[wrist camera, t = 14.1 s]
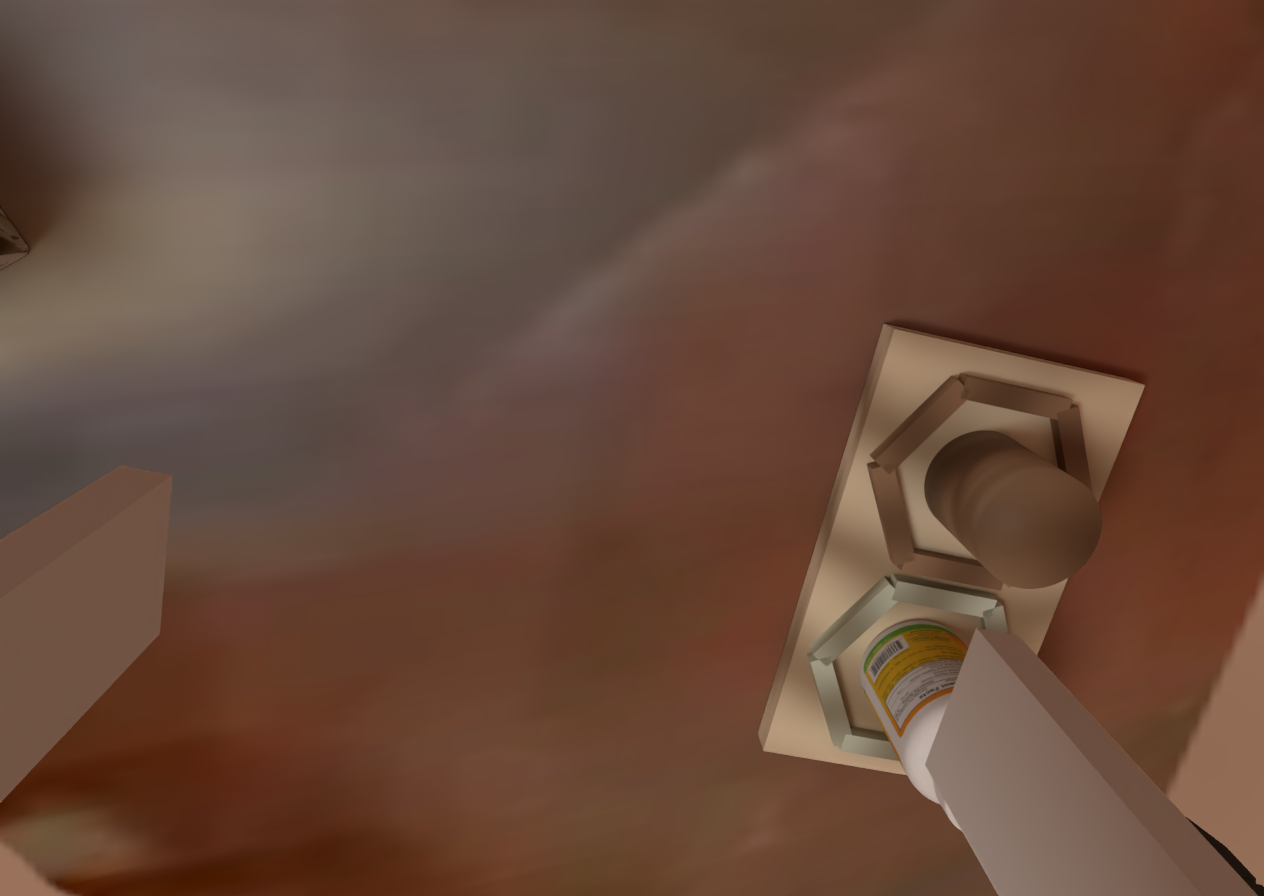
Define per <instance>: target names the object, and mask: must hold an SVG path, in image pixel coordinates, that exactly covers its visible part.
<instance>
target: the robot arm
mask: <svg viewBox="0 0 1264 896" xmlns="http://www.w3.org/2000/svg"><path fill="white" fill-rule="evenodd" d="M171 487H172V475H168V474H162V473H157V472H152V471H147V470H141V469H136V468H131V467H126V466H119V467H117V468H116V469H114V470H113V471H111V472H109V473H108V474H106V475H104V476H103V477H101V478H100V479H98V480H96V481H95V482H93V483H91V484H90V485H88V486H87V487H85V488H83V489H82V490H80V491H78V492H77V493H75V494H74V495H72V496H70V497H69V498H67V499H65V500H64V501H62V502H61V503H59V504H57V505H56V506H54V507H53V508H51V509H49V510H48V511H46V512H44V513H43V514H41V515H40V516H38V517H36V518H35V519H33V520H31V521H30V522H28V523H27V524H25V525H23V526H22V527H20V528H18V529H17V530H15V531H14V532H12V533H10V534H9V535H7V536H5V537H4V538H2V539H1V540H0V802H1V801H2V800H3V799H4V798H5V797H6V796H7V795H8V794H9V793H10V792H11V791H12V790H13V789H14V788H15V787H16V785H17V784H18V783H19V782H20V781H21V780H22V779H23V778H24V777H25V776H26V775H27V774H28V773H29V772H30V771H31V770H32V769H33V767H34V766H35V765H36V764H37V763H38V762H39V761H40V760H41V759H42V758H43V757H44V756H45V755H46V754H47V753H48V752H49V751H50V749H51V748H52V747H53V746H54V745H55V744H56V743H57V742H58V741H59V740H60V739H61V738H62V737H63V736H64V735H65V734H66V732H67V731H68V730H69V729H70V728H71V727H72V726H73V725H74V724H75V723H76V722H77V721H78V720H79V719H80V718H81V717H82V716H83V714H84V713H85V712H86V711H87V710H88V709H89V708H90V707H91V706H92V705H93V704H94V703H95V702H96V701H97V700H98V699H99V697H100V696H101V695H102V694H103V693H104V692H105V691H106V690H107V689H108V688H109V687H110V686H111V685H112V684H113V683H114V682H115V681H116V679H117V678H118V677H119V676H120V675H121V674H122V673H123V672H124V671H125V670H126V669H127V668H128V667H129V666H130V665H131V664H132V663H133V661H134V660H135V659H136V658H137V657H138V656H139V655H140V654H141V653H142V652H143V651H144V650H145V649H146V648H147V647H148V646H149V644H150V643H151V642H152V641H153V640H154V639H155V638H156V637H157V636H158V635H159V634H160V624H161V611H162V599H163V587H164V574H165V562H166V549H167V537H168V525H169V512H170V500H171ZM925 766H926V768H927V769H928V771H929V773H930V775H931V776H932V778H933V780H934V782H935V784H936V785H937V787H938V789H939V791H940V792H941V794H942V796H943V798H944V800H945V801H946V803H947V805H948V807H949V808H950V810H951V812H952V814H953V816H954V817H955V819H956V821H957V823H958V825H959V826H960V828H961V830H962V832H963V833H964V835H965V837H966V839H967V841H968V842H969V844H970V846H971V848H972V849H973V851H974V853H975V855H976V857H977V858H978V860H979V862H980V864H981V865H982V867H983V869H984V871H985V873H986V874H987V876H988V878H989V880H990V881H991V883H992V885H993V887H994V889H995V890H996V892H997V894H998V896H1264V887H1263V886H1262V885H1258V884H1256V878H1255V877H1254V876H1253V875H1252V874H1251V873H1250V872H1249V871H1248V870H1247V869H1246V868H1245V867H1244V866H1243V864H1242V863H1241V862H1240V861H1239V860H1238V859H1237V858H1236V857H1235V856H1234V855H1233V854H1232V853H1231V852H1230V851H1229V850H1228V848H1226V847H1225V846H1224V845H1223V844H1221V843H1220V842H1219V841H1217V840H1216V839H1215V838H1214V837H1212V836H1211V835H1209V834H1208V833H1207V832H1205V831H1204V830H1203V829H1201V828H1200V827H1199V826H1198V825H1196V824H1195V823H1194V822H1192V821H1191V820H1190V819H1188V818H1187V817H1185V816H1184V815H1183V814H1182V813H1181V812H1180V811H1179V809H1178V808H1177V807H1176V806H1175V805H1174V804H1173V803H1172V802H1171V801H1170V800H1169V799H1168V797H1167V796H1166V795H1165V794H1164V793H1163V792H1162V791H1161V790H1160V789H1159V788H1158V787H1157V785H1156V784H1155V783H1154V782H1153V781H1152V780H1151V779H1150V778H1149V777H1148V776H1147V775H1146V774H1145V772H1144V771H1143V770H1142V769H1141V768H1140V767H1139V766H1138V765H1137V764H1136V763H1135V762H1134V761H1133V759H1132V758H1131V757H1130V756H1129V755H1128V754H1127V753H1126V752H1125V751H1124V750H1123V749H1122V747H1121V746H1120V745H1119V744H1118V743H1117V742H1116V741H1115V740H1114V739H1113V738H1112V737H1111V736H1110V734H1109V733H1108V732H1107V731H1106V730H1105V729H1104V728H1103V727H1102V726H1101V725H1100V724H1099V723H1098V721H1097V720H1096V719H1095V718H1094V717H1093V716H1092V715H1091V714H1090V713H1089V712H1088V711H1087V709H1086V708H1085V707H1084V706H1083V705H1082V704H1081V703H1080V702H1079V701H1078V700H1077V699H1076V698H1075V696H1074V695H1073V694H1072V693H1071V692H1070V691H1069V690H1068V689H1067V688H1066V687H1065V686H1064V685H1063V683H1062V682H1061V681H1060V680H1059V679H1058V678H1057V677H1056V676H1055V675H1054V674H1053V673H1052V672H1051V670H1050V669H1049V668H1048V667H1047V666H1046V665H1045V664H1044V663H1043V662H1042V661H1041V660H1040V658H1039V657H1038V656H1037V655H1036V654H1035V653H1034V652H1033V651H1032V650H1031V649H1030V648H1029V647H1028V645H1027V644H1026V643H1025V642H1024V641H1023V640H1022V639H1021V638H1020V637H1019V636H1018V635H1012V634H1007V633H1002V632H997V631H991V630H986V629H981V628H976V629H975V632H974V635H973V637H972V640H971V643H970V645H969V648H968V651H967V653H966V656H965V659H964V661H963V664H962V667H961V669H960V672H959V675H958V677H957V680H956V683H955V685H954V688H953V691H952V693H951V696H950V699H949V701H948V704H947V707H946V710H945V712H944V715H943V718H942V720H941V723H940V726H939V728H938V731H937V734H936V736H935V739H934V742H933V744H932V747H931V750H930V752H929V755H928V758H927V760H926V763H925Z"/></svg>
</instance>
